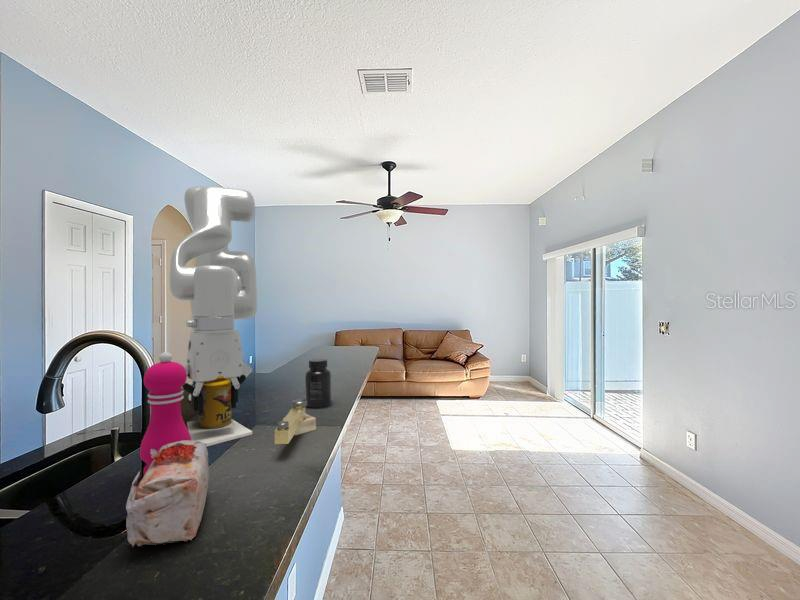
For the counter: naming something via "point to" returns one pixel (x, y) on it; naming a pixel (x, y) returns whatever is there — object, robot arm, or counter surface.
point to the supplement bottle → (318, 384)
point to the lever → (290, 422)
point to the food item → (169, 495)
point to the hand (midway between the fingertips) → (215, 409)
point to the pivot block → (306, 425)
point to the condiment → (214, 406)
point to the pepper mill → (164, 406)
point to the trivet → (221, 434)
